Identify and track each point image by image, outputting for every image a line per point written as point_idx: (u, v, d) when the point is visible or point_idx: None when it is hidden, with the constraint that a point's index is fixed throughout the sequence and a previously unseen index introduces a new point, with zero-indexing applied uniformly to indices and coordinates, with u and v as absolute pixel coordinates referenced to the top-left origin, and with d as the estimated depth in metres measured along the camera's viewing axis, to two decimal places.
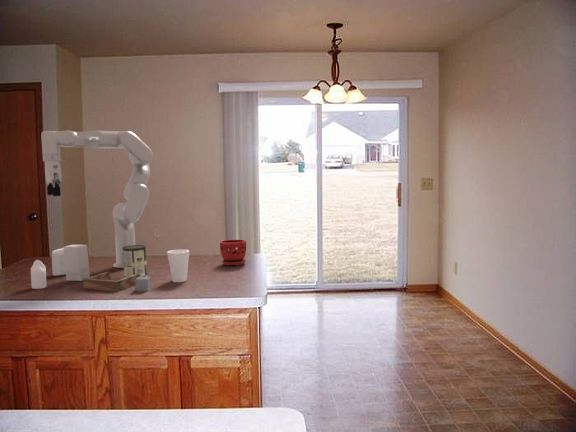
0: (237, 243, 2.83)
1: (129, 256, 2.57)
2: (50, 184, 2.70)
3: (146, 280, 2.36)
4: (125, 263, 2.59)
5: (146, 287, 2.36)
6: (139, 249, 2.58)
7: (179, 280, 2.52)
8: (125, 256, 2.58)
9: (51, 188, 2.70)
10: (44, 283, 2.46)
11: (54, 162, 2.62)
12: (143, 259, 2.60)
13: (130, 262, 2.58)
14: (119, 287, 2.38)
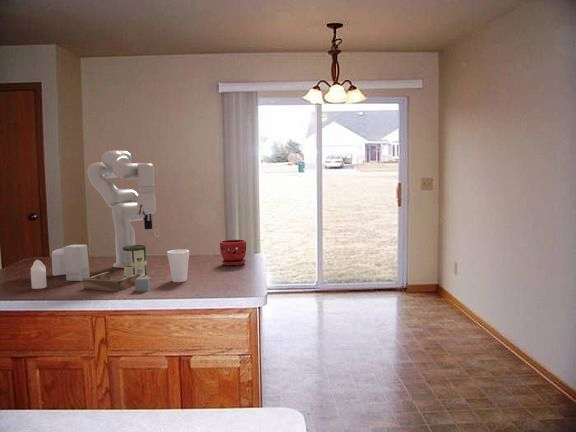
0: (237, 243, 2.83)
1: (129, 256, 2.57)
2: None
3: (146, 280, 2.36)
4: (125, 263, 2.59)
5: (146, 287, 2.36)
6: (139, 249, 2.58)
7: (179, 280, 2.52)
8: (125, 256, 2.58)
9: None
10: (44, 283, 2.46)
11: None
12: (143, 259, 2.60)
13: (130, 262, 2.58)
14: (119, 287, 2.38)
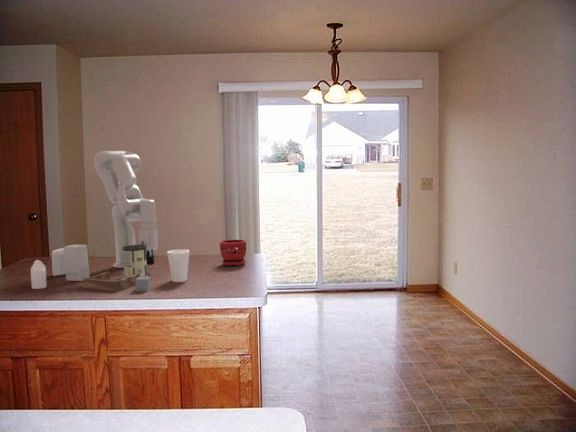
0: (237, 243, 2.83)
1: (129, 256, 2.57)
2: None
3: (146, 280, 2.36)
4: (125, 263, 2.59)
5: (146, 287, 2.36)
6: (139, 249, 2.58)
7: (179, 280, 2.52)
8: (125, 256, 2.58)
9: None
10: (44, 283, 2.46)
11: None
12: (143, 259, 2.60)
13: (130, 262, 2.58)
14: (119, 287, 2.38)
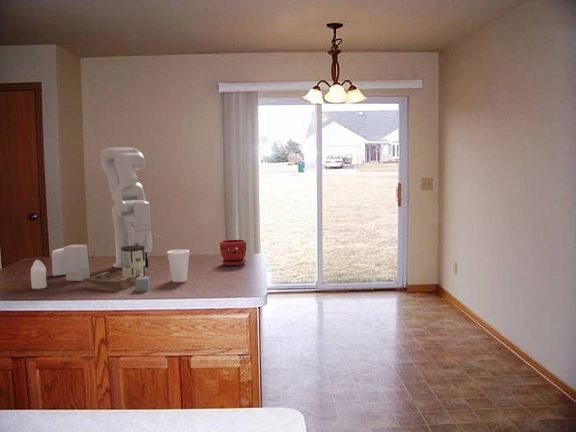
0: (237, 243, 2.83)
1: (128, 256, 2.56)
2: None
3: (146, 280, 2.36)
4: (124, 263, 2.58)
5: (146, 287, 2.36)
6: (138, 249, 2.57)
7: (179, 280, 2.52)
8: (123, 256, 2.57)
9: None
10: (44, 283, 2.46)
11: None
12: (142, 259, 2.59)
13: (128, 262, 2.56)
14: (119, 287, 2.38)
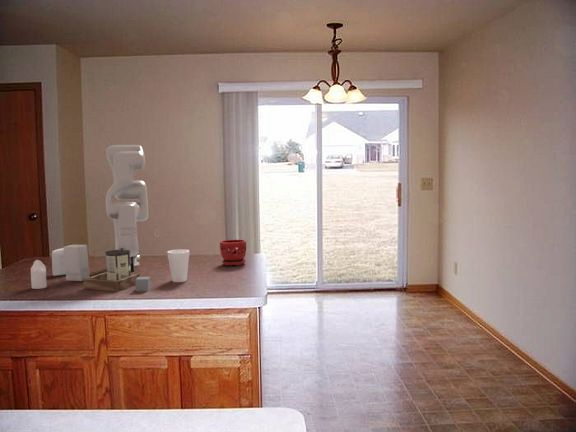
0: (237, 243, 2.83)
1: (113, 261, 2.45)
2: None
3: (146, 280, 2.36)
4: (108, 269, 2.47)
5: (146, 287, 2.36)
6: (123, 254, 2.46)
7: (179, 280, 2.52)
8: (108, 261, 2.46)
9: None
10: (44, 283, 2.46)
11: None
12: (127, 264, 2.48)
13: (113, 268, 2.46)
14: (119, 287, 2.38)
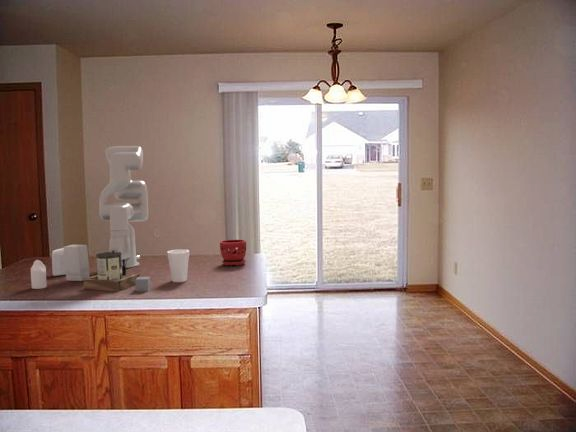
0: (237, 243, 2.83)
1: (103, 264, 2.40)
2: None
3: (146, 280, 2.36)
4: (99, 271, 2.41)
5: (146, 287, 2.36)
6: (114, 256, 2.40)
7: (179, 280, 2.52)
8: (98, 264, 2.41)
9: None
10: (44, 283, 2.46)
11: None
12: (118, 267, 2.43)
13: (104, 270, 2.40)
14: (119, 287, 2.38)
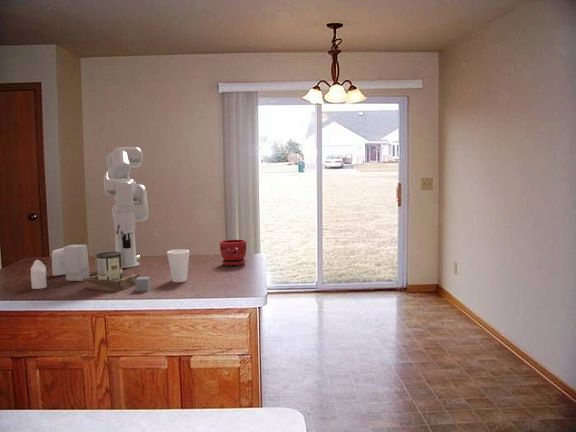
0: (237, 243, 2.83)
1: (103, 264, 2.40)
2: None
3: (146, 280, 2.36)
4: (99, 271, 2.41)
5: (146, 287, 2.36)
6: (114, 256, 2.40)
7: (179, 280, 2.52)
8: (98, 264, 2.41)
9: None
10: (44, 283, 2.46)
11: None
12: (118, 267, 2.43)
13: (104, 270, 2.40)
14: (119, 287, 2.38)
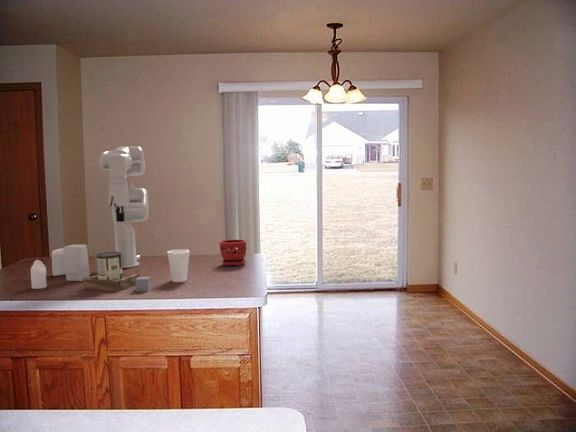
0: (237, 243, 2.83)
1: (103, 264, 2.40)
2: None
3: (146, 280, 2.36)
4: (99, 271, 2.41)
5: (146, 287, 2.36)
6: (114, 256, 2.40)
7: (179, 280, 2.52)
8: (98, 264, 2.41)
9: None
10: (44, 283, 2.46)
11: None
12: (118, 267, 2.43)
13: (104, 270, 2.40)
14: (119, 287, 2.38)
